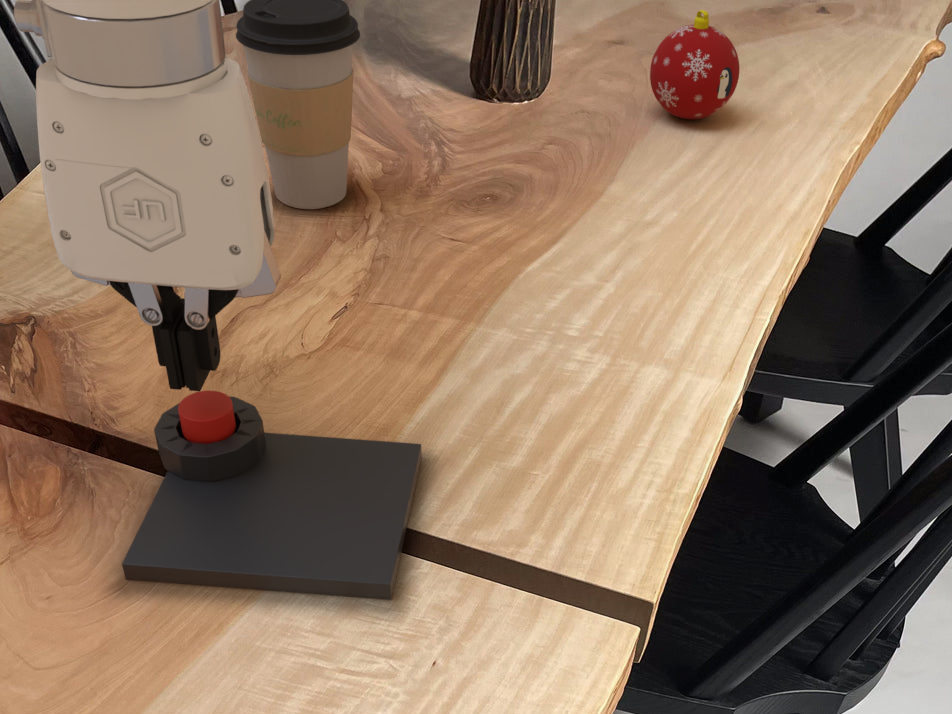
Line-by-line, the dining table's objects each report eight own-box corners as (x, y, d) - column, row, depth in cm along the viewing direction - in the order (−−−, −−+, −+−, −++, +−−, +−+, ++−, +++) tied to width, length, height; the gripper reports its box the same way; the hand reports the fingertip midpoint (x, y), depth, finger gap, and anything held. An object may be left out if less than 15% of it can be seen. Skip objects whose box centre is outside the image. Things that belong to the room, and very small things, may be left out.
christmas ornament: (694, 95, 114) (709, -8, 108) (749, 123, 109) (768, 17, 102) (627, 108, 111) (639, 3, 104) (681, 139, 105) (696, 30, 99)
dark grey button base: (107, 579, 58) (95, 536, 56) (181, 432, 67) (173, 391, 65) (391, 600, 57) (389, 558, 55) (423, 449, 67) (422, 409, 65)
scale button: (176, 443, 62) (170, 418, 61) (191, 412, 65) (186, 388, 63) (228, 447, 62) (224, 422, 61) (241, 416, 64) (238, 391, 63)
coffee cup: (236, 209, 90) (210, 18, 81) (281, 164, 97) (263, -17, 88) (345, 226, 89) (332, 32, 79) (383, 179, 96) (375, -4, 86)
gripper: (-67, 51, 47) (33, 404, 59) (284, 81, 46) (312, 428, 58) (7, -3, 52) (84, 329, 64) (320, 23, 52) (338, 351, 64)
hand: (192, 375), depth 61 cm, fingers closed
